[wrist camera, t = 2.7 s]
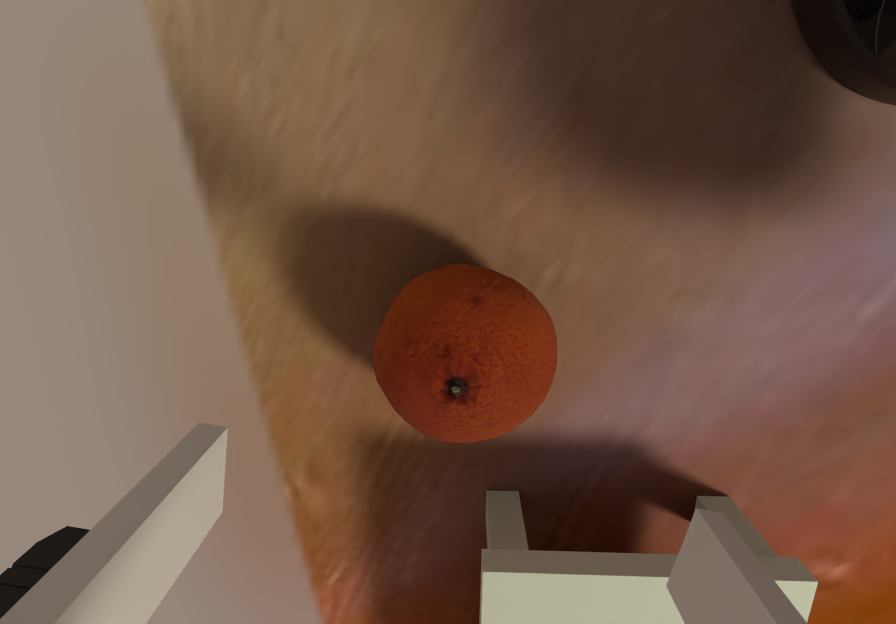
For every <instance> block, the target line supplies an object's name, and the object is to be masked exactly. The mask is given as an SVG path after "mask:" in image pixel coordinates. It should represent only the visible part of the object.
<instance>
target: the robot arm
mask: <svg viewBox="0 0 896 624" xmlns="http://www.w3.org/2000/svg"><path fill="white" fill-rule="evenodd" d="M793 4H794V8H795V12H796V15H797V18H798V21H799V24H800V27H801V29H802V31H803V34H804V36H805V38H806V40H807V42H808V44H809V45H810V47H811V49H812V50H813V52H814V53H815V55H816V56H817V58H818V59H819V60H820V61H821V63H822V64H823V65H824V66H825V67H826V68H827V69H828V71H829V72H830V73H831V74H832V75H834V76H835V77H836V78H837V79H838V80H839V81H841V82H842V83H843V84H845V85H846V86H848V87H849V88H851V89H852V90H854V91H856V92H858V93H859V94H862V95H864V96H866V97H868V98H870V99H873V100H876V101H879V102H883V103H887V104H891V105H896V0H793ZM227 430H228V427H222V426H216V425H211V424H205V423H199V424H198V425H197V426H196V427H195V428H194V429H193V430H192V431H190V432H189V434H188V435H187V436H185V437H184V438H183V439H182V440H181V441H180V442H179V443H178V444H177V445H176V446H175V447H174V448H173V449H172V450H171V451H170V452H169V453H168V454H167V455H166V456H165V457H164V458H163V459H162V460H161V461H160V462H159V463H158V464H157V465H156V466H155V467H154V468H153V469H152V470H151V471H150V472H149V473H148V474H147V475H146V476H145V477H144V478H143V479H142V480H141V481H140V482H139V483H138V484H137V485H136V486H135V487H134V488H133V489H132V490H131V491H130V492H129V493H128V494H127V495H126V496H125V497H124V498H122V499H121V500H120V502H118V503H117V504H116V505H115V506H114V507H113V508H112V509H111V510H110V511H109V512H108V513H107V514H106V515H105V516H104V517H103V518H102V519H101V520H100V521H99V522H98V523H97V524H96V525H95V526H94V527H93V528H92V529H91V530H88V529H82V528H75V527H69V526H66V527H65V528H63V529H61V530H59V531H57V532H55V533H54V534H52V535H50V536H48V537H46V538H44V539H42V540H41V541H39V542H37V543H36V544H35V545H34V546H32V547H31V548H30V549H29V550H28V551H27V552H26V553H25V554H23V555H22V556H21V557H20V558H19V559H18V560H17V561H16V562H14V563H13V566H12V568H8V569H7V570H6V571H4V572H3V573H2V574H1V575H0V624H146V623H147V621H148V619H149V618H150V617H151V615H152V614H153V612H154V611H155V609H156V608H157V606H158V605H159V604H160V602H161V601H162V599H163V598H164V596H165V595H166V593H167V592H168V590H169V589H170V588H171V586H172V585H173V583H174V582H175V580H176V579H177V577H178V576H179V574H180V573H181V571H182V570H183V569H184V567H185V566H186V564H187V563H188V561H189V560H190V558H191V557H192V555H193V554H194V552H195V551H196V550H197V548H198V547H199V545H200V544H201V542H202V541H203V539H204V538H205V536H206V535H207V533H208V532H209V530H210V529H211V528H212V526H213V525H214V523H215V522H216V520H217V519H218V517H219V516H220V515H221V513H222V509H223V508H222V507H223V493H224V478H225V462H226V447H227V432H228V431H227ZM666 587H667V589H668V591H669V593H670V595H671V597H672V599H673V601H674V603H675V605H676V607H677V609H678V611H679V613H680V615H681V617H682V619H683V621H684V623H685V624H807V622H806V621H805V620H804V618H803V617H802V616H801V614H800V613H799V612H798V610H797V609H796V608H795V607H794V605H793V604H792V603H791V601H790V600H789V599H788V597H787V596H786V595H785V594H784V592H783V591H782V590H781V588H780V587H779V586H778V584H777V583H776V582H775V581H774V579H773V578H772V577H771V575H770V574H769V573H768V571H767V570H766V569H765V567H764V566H763V565H762V564H761V562H760V561H759V560H758V558H757V557H756V556H755V554H754V553H753V552H752V551H751V549H750V548H749V547H748V545H747V544H746V543H745V541H744V540H743V539H742V538H741V536H740V535H739V534H738V532H737V531H736V530H735V528H734V527H733V526H732V525H731V523H730V522H729V521H728V519H727V518H726V517H725V515H724V514H723V513H721V512H715V511H709V510H704V509H698V508H696V510H695V512H694V515H693V517H692V520H691V523H690V525H689V528H688V530H687V533H686V535H685V538H684V541H683V543H682V546H681V548H680V551H679V554H678V556H677V559H676V561H675V564H674V567H673V569H672V572H671V574H670V577H669V579H668V582H667V585H666Z"/></svg>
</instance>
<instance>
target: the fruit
mask: <svg viewBox="0 0 896 624" xmlns="http://www.w3.org/2000/svg"><path fill="white" fill-rule="evenodd" d="M556 365H557V338H556V333H555V329H554V326H553V323H552V319H551V318H550V315H549V314H548V312H547V311H546V309H545V308H544V307H543V305H542V304H541V303H540V302H539V301H538V299H537V298H536V297H535V296H534V295H533V294H532V293H531V292H530V291H528V290H527V289H526V288H525V287H524V286H523V285H522V284H520V283H519V282H517V281H516V280H514V279H512V278H509V277H506V276H505V275H503V274H501V273H498V272H496V271H493V270H490V269H487V268H484V267H478V266H474V265H469V264H461V263H460V264H451V265H447V266H443V267H440V268H437V269H434V270H431V271H427V272H424V273H422V274H420V275H419V276H417V277H415V278H414V279H412V280H411V281H410V282H409V283H408V284H407V285H406V286H404V287H403V289H402V290H401V291H400V292H399V293H398V294H397V296H396V297H395V299H394V300H393V302H392V304H391V306H390V308H389V310H388V312H387V313H386V315H385V318H384V320H383V323H382V325H381V327H380V330H379V332H378V335H377V337H376V340H375V344H374V349H373V366H374V371H375V375H376V379H377V382H378V384H379V386H380V387H381V389H382V391H383V392H384V394H385V396H386V397H387V399H388V400H389V402H390V404H391V405H392V407H393V408H394V409H395V411H396V412H397V413H398V414H399V415H400V416H401V417H402V418H403V419H404V420H405V421H406V422H407V423H409V424H410V425H411V426H412V427H413V428H415V429H416V430H418V431H419V432H421V433H423V434H424V435H426V436H428V437H430V438H433V439H436V440H438V441H442V442H446V443H470V442H476V441H481V440H487V439H492V438H496V437H499V436H502V435H504V434H506V433H508V432H510V431H511V430H513V429H515V428H516V427H517V426H518V425H519V424H521V423H522V422H524V421H525V420H526V419H528V418H529V417H530V416H531V415H532V414H533V413H534V412H535V411H536V410H537V409H538V407H539V406H540V404H541V403H542V402H543V401H544V399H545V397H546V395H547V393H548V391H549V389H550V386H551V384H552V382H553V378H554V375H555V371H556Z"/></svg>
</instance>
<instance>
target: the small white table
mask: <svg viewBox="0 0 896 624" xmlns="http://www.w3.org/2000/svg"><path fill="white" fill-rule="evenodd" d="M696 508H698V509H704V510H709V511H715V512H721V513H723V514H724V515H725V517H726V518H727V519H728V521H729V522H730V523H731V525H732V526H733V527H734V528H735V530H736V531H737V532H738V534H739V535H740V536H741V538H742V539H743V540H744V541H745V543H746V544H747V545H748V547H749V548H750V549H751V551H752V552H753V553H754V554H755V556H756V557H757V558H758V560H759V561H760V562H761V564H762V565H763V566H764V567H765V569H766V570H767V571H768V573H769V574H770V575H771V577H772V578H773V579H774V581H775V582H776V583H777V584H778V586H779V587H780V588H781V590H782V591H783V592H784V594H785V595H786V596H787V597H788V599H789V600H790V601H791V603H792V604H793V605H794V607H795V608H796V609H797V610H798V612H799V613H800V614H801V616H802V617H803V618H804V620H805V621H806V622H807V620H808V617H809V613H810V609H811V606H812V602H813V599H814V595H815V591H816V588H817V584H818V581H817V580H816V579H815V578H814V577H813V575H812V574H811V573H810V572H809V571H808V569H807V568H806V567H805V566H804V565H803V564H802V562H801V561H800V560H799V559H798V558H781V557H778V556H777V554H776V553H775V552H774V551H773V549H772V548H771V547H770V546H769V544H768V543H767V542H766V541H765V540H764V538H763V537H762V536H761V535H760V533H759V532H758V531H757V530H756V528H755V527H754V526H753V525H752V523H751V522H750V521H749V520H748V518H747V517H746V516H745V515H744V514H743V512H742V511H741V510H740V509H739V507H738V506H737V505H736V504H735V502H734V501H733V500H732V499H731V497H726V496H697V499H696V504H695V510H696ZM695 510H694V512H695ZM486 533H487V549H482V558H481V588H480V618H479V624H685V623H684V621H683V619H682V617H681V615H680V613H679V611H678V609H677V607H676V605H675V603H674V601H673V599H672V597H671V595H670V593H669V591H668V589H667V587H666V585H667V582H668V579H669V577H670V574H671V572H672V569H673V567H674V564H675V561H676V559H677V556H678V555H677V554H642V553H607V552H572V551H538V550H528V544H527V538H526V532H525V526H524V520H523V514H522V509H521V503H520V497H519V491H492V490H486Z"/></svg>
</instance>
